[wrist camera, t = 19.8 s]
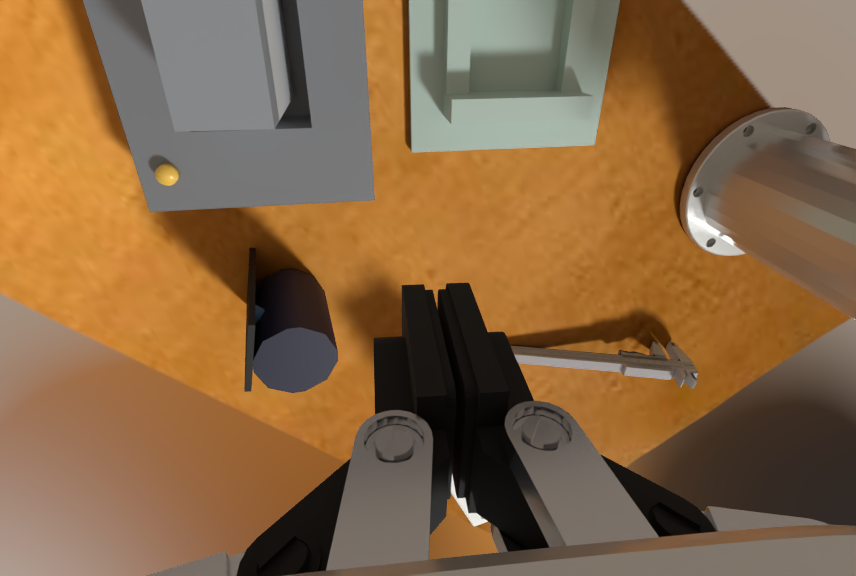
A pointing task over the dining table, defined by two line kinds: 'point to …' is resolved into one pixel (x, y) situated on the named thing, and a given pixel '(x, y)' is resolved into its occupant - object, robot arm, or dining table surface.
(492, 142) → the pale green cradle tray
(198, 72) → the plug
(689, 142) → the dining table surface
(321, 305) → the speaker
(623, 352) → the caliper
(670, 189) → the dining table surface
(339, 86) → the block
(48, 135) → the dining table surface
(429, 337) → the robot arm
